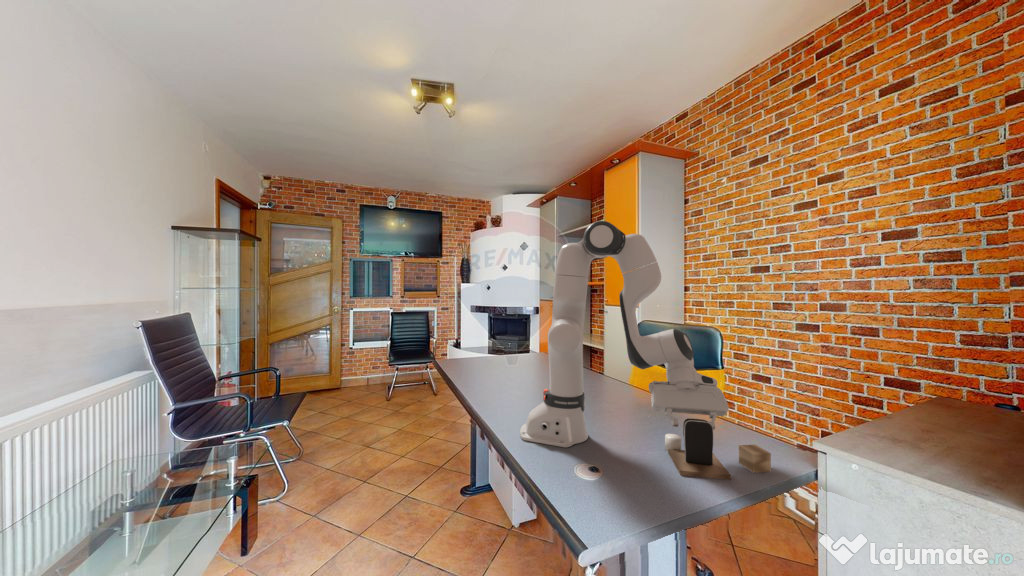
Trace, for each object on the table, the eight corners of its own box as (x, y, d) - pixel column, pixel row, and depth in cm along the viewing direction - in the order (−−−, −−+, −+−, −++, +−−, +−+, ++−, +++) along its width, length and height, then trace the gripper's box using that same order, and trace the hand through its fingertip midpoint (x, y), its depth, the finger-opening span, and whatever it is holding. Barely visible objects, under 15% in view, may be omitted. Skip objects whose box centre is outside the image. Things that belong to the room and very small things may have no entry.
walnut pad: (680, 475, 88) (680, 470, 88) (668, 453, 100) (668, 448, 100) (730, 479, 86) (730, 475, 86) (712, 456, 98) (712, 452, 98)
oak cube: (753, 472, 89) (753, 454, 89) (738, 463, 94) (738, 445, 94) (770, 472, 90) (770, 453, 90) (755, 462, 95) (755, 444, 95)
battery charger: (709, 459, 94) (709, 418, 94) (714, 466, 90) (713, 423, 90) (682, 456, 96) (681, 416, 96) (685, 463, 92) (685, 421, 92)
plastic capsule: (667, 452, 100) (667, 439, 100) (663, 446, 105) (663, 433, 105) (683, 454, 100) (683, 440, 100) (678, 447, 104) (678, 434, 104)
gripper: (649, 375, 104) (655, 419, 95) (722, 379, 100) (737, 425, 91) (646, 385, 109) (652, 428, 99) (716, 390, 105) (729, 435, 95)
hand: (693, 427), depth 95 cm, fingers open, 8 cm apart
